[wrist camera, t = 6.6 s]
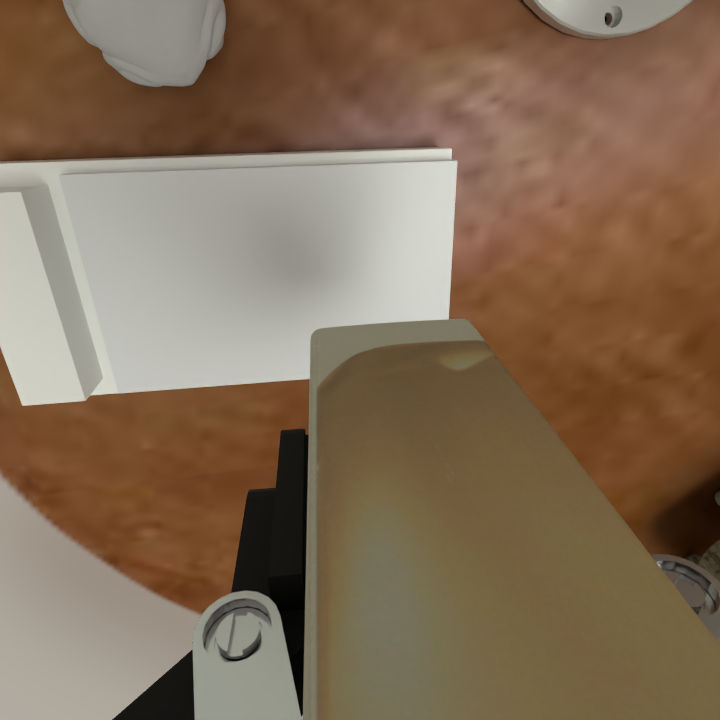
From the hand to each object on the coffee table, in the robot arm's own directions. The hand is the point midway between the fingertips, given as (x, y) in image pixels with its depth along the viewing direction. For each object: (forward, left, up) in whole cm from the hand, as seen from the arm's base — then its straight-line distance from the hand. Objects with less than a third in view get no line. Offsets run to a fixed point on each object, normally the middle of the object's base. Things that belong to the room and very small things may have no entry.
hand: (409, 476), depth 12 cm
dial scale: (-1, -6, -19) cm, 19 cm away
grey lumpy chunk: (-13, -8, -19) cm, 24 cm away
